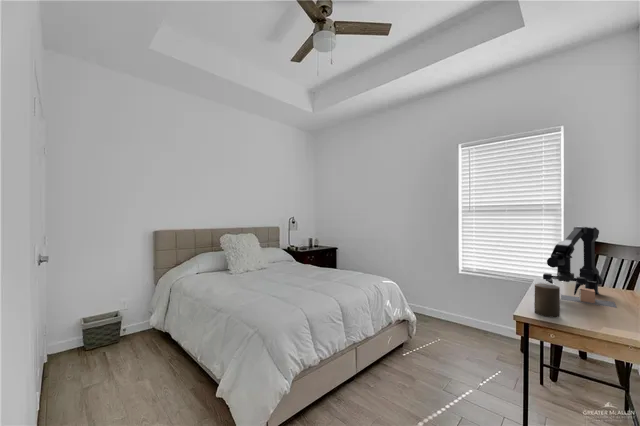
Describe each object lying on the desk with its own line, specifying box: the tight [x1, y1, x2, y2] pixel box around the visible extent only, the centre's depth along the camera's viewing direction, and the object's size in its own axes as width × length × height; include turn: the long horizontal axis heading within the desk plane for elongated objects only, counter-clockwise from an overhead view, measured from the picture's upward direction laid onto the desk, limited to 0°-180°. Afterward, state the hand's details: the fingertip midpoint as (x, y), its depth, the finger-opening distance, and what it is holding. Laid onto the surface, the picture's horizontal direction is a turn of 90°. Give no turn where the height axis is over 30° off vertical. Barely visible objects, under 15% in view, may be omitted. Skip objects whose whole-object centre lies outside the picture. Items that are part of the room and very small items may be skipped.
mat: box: [560, 294, 618, 309], centre depth 158 cm, size 12×22×1 cm, turn 50°
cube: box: [578, 287, 596, 303], centre depth 158 cm, size 6×6×6 cm
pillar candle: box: [533, 283, 561, 318], centre depth 140 cm, size 10×10×15 cm
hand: (563, 293), depth 164 cm, fingers open, 9 cm apart
